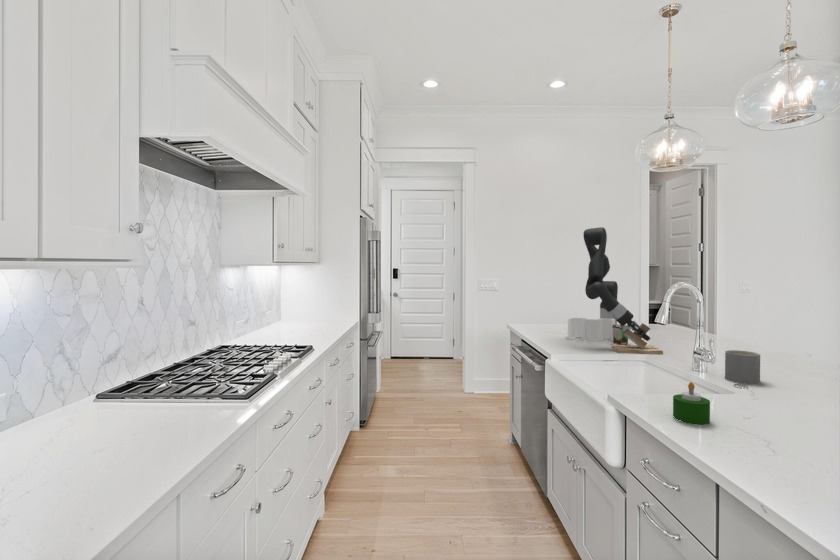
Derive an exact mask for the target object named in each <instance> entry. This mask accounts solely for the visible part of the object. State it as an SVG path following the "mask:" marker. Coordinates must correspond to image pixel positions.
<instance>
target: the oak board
mask: <svg viewBox="0 0 840 560" xmlns="http://www.w3.org/2000/svg"><path fill="white" fill-rule="evenodd" d="M610 347H611V348H612V349H613V351H615V352H616V353H620V354H641V355H643V354H645V355H664V351H663V350H662V349H660V348H658V347H657V346H655V345H646V346H645V347H644V348H643V349H642V348H640V347H639V346H638V345H636V344H634V345H633V344H628V345H618V344H614V343H613V344H610Z"/></svg>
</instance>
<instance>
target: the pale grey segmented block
mask: <svg viewBox="0 0 840 560" xmlns="http://www.w3.org/2000/svg"><path fill="white" fill-rule="evenodd" d="M613 324H615V319H608V318H600V317H599V318H597V319H595V318H592V319H591V318H587V317H586V318H585V317H567V339H568V338H569V339H572V340H573V338H572V337H580V338H579V339H582V338H583V339H582V341H583V340H586V341H590V340H598V341H597V342H603V340H608V339H609V341H611V342H613V328H612V326H613ZM569 339H568V340H569Z"/></svg>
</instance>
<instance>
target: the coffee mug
mask: <svg viewBox="0 0 840 560" xmlns="http://www.w3.org/2000/svg"><path fill="white" fill-rule="evenodd" d="M724 356H725V357H724V380H726V379H727V380H726V381H728V380H729V382H731V381H733V383H736V382H738V383H737V384H742V383H745V385H758V383H759V384H761V353H759V352H754V351H749V350H737V349H729V350H728V349H727V350H725V352H724Z"/></svg>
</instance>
